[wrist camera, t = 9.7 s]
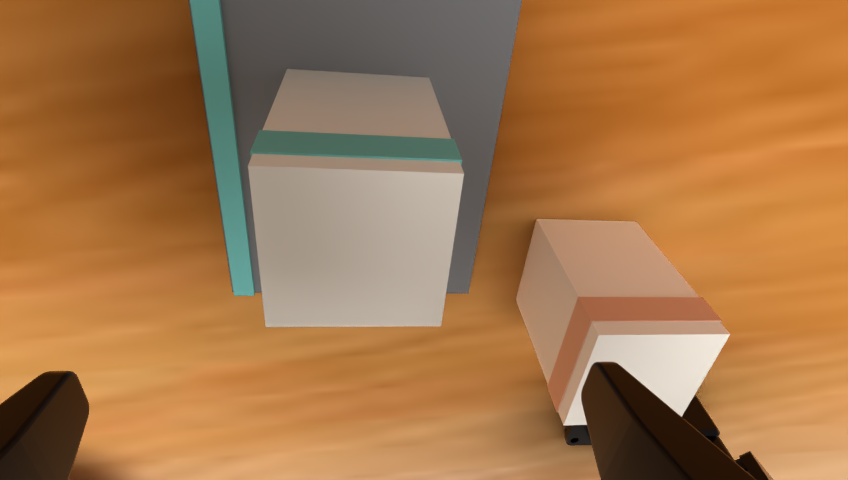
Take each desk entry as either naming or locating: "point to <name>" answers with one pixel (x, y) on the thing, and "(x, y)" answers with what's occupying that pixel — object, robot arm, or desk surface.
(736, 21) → the desk surface
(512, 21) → the plate
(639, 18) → the desk surface
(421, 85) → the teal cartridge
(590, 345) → the light grey boxy piece
